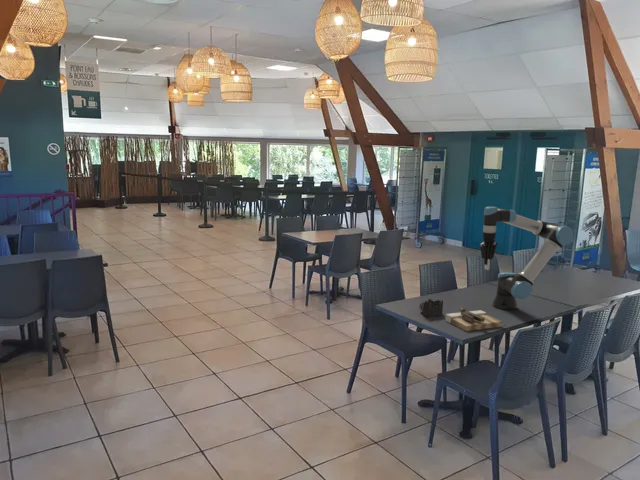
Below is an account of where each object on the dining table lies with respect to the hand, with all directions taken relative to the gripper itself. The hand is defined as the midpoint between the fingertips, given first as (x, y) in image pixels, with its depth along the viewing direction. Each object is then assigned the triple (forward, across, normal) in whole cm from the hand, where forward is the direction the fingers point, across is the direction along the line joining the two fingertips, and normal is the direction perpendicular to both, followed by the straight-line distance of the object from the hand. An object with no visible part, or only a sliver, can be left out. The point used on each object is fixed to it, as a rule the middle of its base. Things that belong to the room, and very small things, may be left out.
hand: (486, 269), depth 314 cm
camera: (+28, +33, -12) cm, 45 cm away
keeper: (+25, +26, +14) cm, 39 cm away
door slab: (+28, +20, +15) cm, 38 cm away
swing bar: (+24, +22, +12) cm, 35 cm away
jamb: (+28, +20, +5) cm, 35 cm away
